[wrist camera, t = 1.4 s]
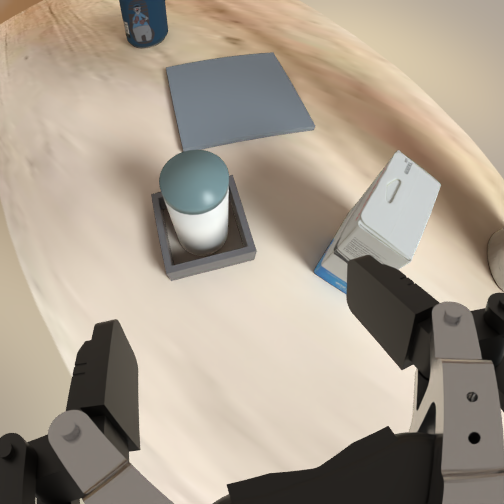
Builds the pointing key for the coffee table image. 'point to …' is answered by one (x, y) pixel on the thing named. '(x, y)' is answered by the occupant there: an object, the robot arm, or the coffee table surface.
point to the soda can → (144, 21)
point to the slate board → (234, 101)
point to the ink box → (383, 221)
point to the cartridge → (197, 199)
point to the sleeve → (210, 261)
